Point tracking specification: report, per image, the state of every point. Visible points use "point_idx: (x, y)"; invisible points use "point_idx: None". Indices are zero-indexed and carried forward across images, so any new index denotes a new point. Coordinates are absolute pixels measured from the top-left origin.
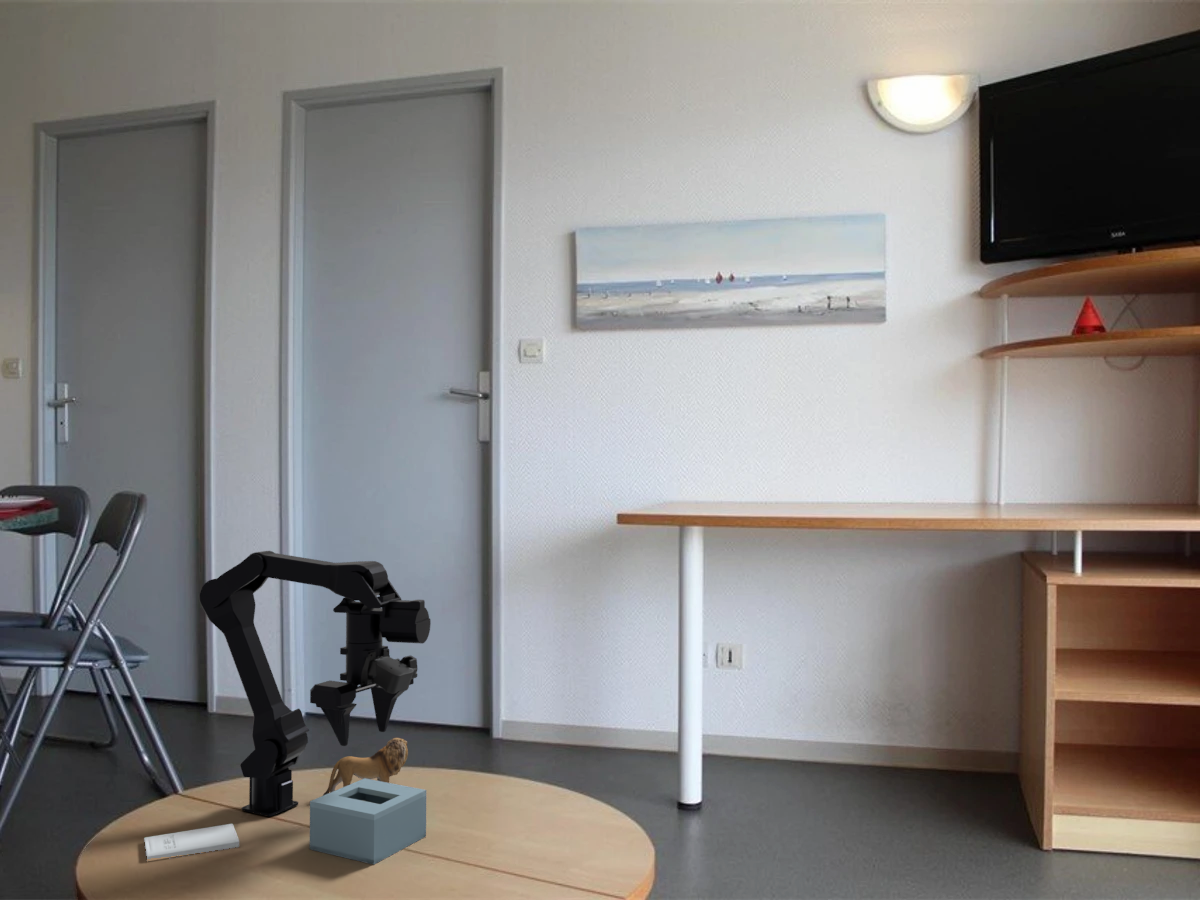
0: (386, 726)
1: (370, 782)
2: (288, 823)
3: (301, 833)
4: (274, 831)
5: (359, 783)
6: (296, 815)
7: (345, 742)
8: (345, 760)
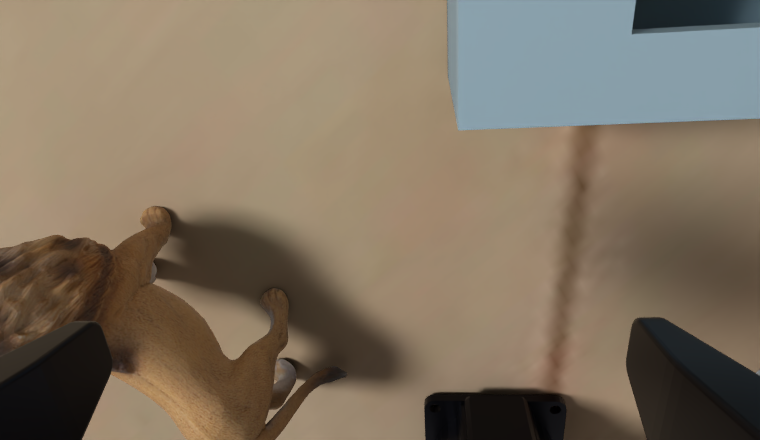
0: (42, 340)
1: (513, 31)
2: (580, 315)
3: (650, 212)
4: (667, 303)
5: (563, 83)
6: (502, 343)
7: (685, 335)
8: (236, 430)
